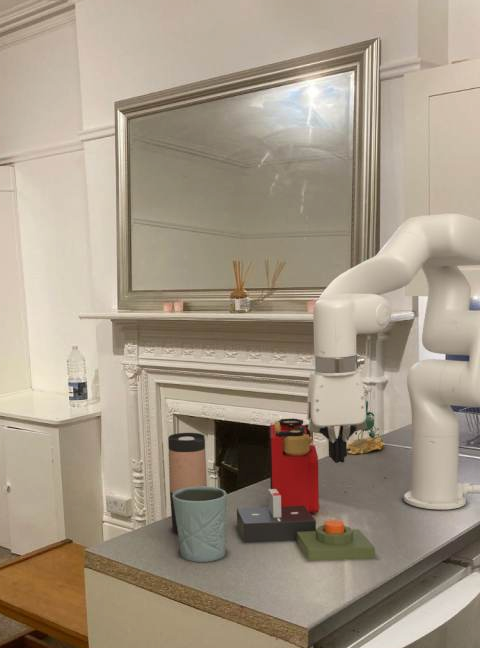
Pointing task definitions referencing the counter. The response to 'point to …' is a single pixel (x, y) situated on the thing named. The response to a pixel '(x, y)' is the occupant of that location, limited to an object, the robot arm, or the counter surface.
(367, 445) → the green character figurine
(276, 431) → the red coffee machine
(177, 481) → the travel mug
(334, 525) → the button
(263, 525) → the plate
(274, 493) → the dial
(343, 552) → the button block
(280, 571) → the counter surface
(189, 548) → the teal embossed cup
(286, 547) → the counter surface
